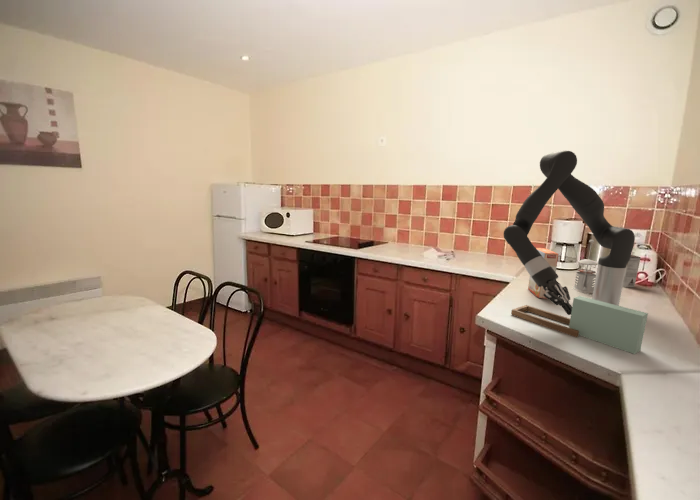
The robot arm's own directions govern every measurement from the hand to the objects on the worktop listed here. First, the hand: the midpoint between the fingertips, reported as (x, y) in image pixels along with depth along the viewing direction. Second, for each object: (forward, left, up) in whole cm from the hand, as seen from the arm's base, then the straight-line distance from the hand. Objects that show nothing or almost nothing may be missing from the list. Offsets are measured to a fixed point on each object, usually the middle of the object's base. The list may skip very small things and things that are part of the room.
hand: (572, 313), depth 111 cm
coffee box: (-87, -12, -6) cm, 88 cm away
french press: (-57, -18, -6) cm, 60 cm away
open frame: (0, -7, -6) cm, 9 cm away
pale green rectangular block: (0, +10, -6) cm, 11 cm away
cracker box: (-31, -26, -6) cm, 41 cm away
